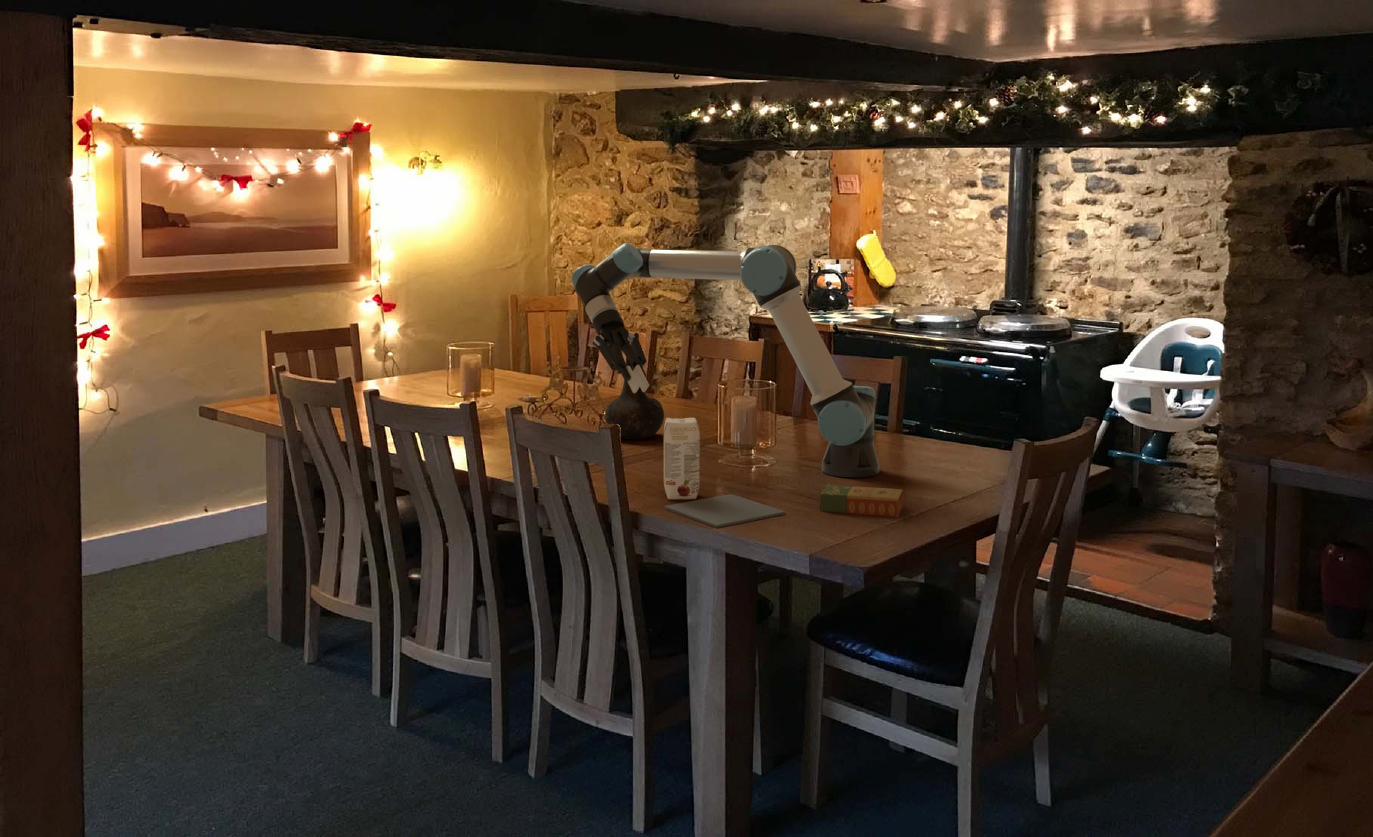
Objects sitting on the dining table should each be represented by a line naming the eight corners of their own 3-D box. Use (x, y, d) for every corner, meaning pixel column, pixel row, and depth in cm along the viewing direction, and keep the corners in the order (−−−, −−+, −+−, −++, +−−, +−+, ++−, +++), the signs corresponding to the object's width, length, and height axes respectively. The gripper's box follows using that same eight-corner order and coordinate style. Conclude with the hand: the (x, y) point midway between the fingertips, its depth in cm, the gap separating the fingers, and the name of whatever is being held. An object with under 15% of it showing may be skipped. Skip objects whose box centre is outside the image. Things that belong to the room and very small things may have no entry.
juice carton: (700, 500, 288) (700, 422, 285) (664, 500, 288) (664, 422, 284) (697, 492, 296) (697, 416, 292) (662, 492, 295) (662, 416, 291)
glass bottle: (650, 444, 351) (650, 349, 346) (595, 440, 357) (594, 346, 352) (673, 433, 367) (673, 342, 362) (619, 429, 373) (619, 339, 368)
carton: (898, 518, 274) (898, 498, 273) (818, 512, 279) (819, 492, 278) (903, 508, 283) (904, 488, 282) (826, 502, 288) (826, 482, 287)
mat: (664, 508, 280) (664, 506, 280) (731, 496, 292) (731, 493, 292) (716, 527, 264) (716, 525, 264) (785, 513, 276) (785, 511, 276)
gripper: (624, 324, 318) (660, 395, 308) (574, 328, 309) (610, 401, 299) (635, 306, 313) (672, 377, 302) (585, 309, 304) (621, 382, 294)
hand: (641, 389), depth 301 cm, fingers open, 2 cm apart
